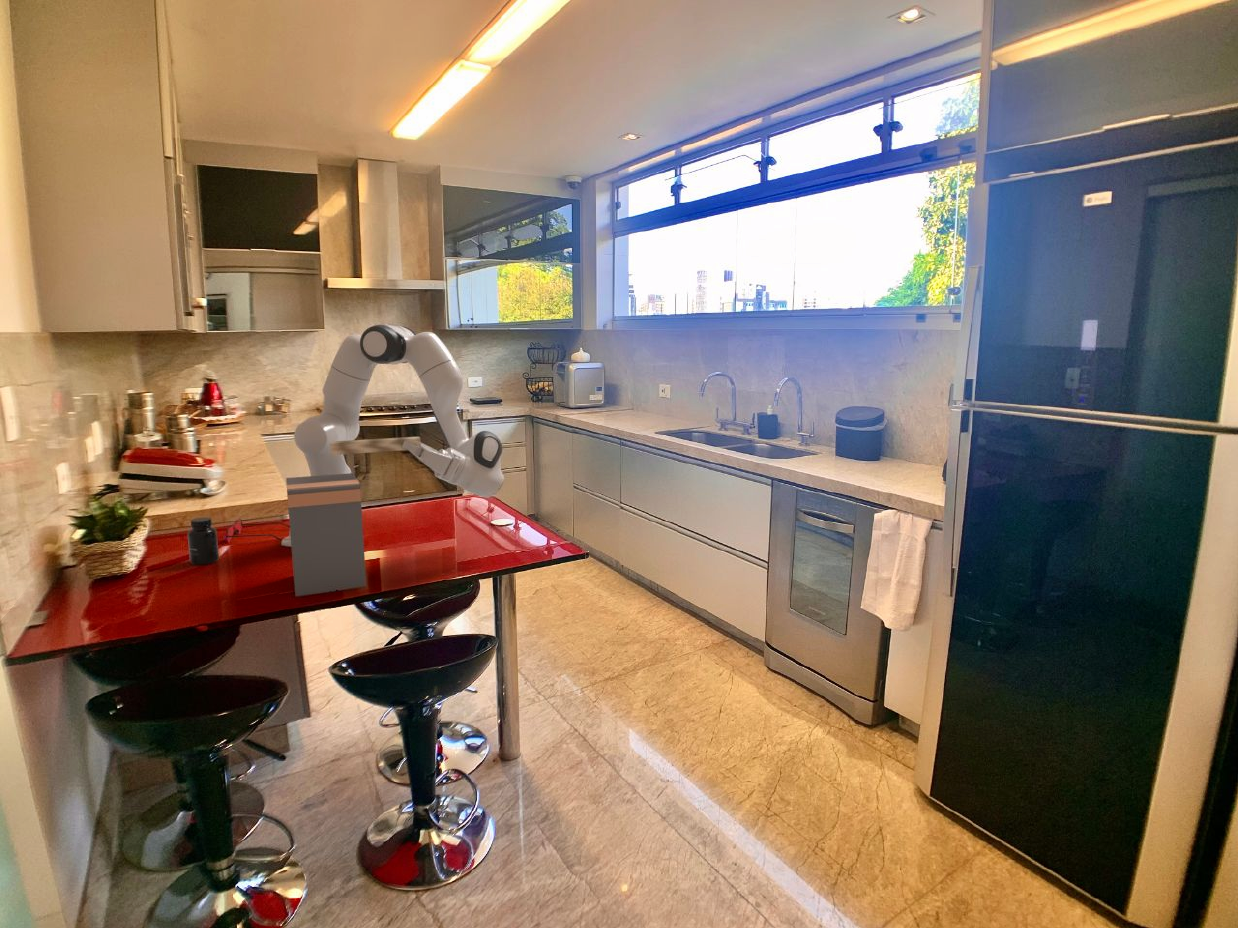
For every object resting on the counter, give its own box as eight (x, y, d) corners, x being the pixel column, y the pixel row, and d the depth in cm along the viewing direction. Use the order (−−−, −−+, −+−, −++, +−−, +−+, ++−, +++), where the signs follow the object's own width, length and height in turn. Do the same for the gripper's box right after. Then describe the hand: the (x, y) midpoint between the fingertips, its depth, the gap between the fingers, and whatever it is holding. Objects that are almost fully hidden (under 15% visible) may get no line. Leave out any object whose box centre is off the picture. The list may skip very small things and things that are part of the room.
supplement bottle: (186, 566, 182) (181, 523, 180) (195, 558, 188) (190, 516, 186) (215, 564, 184) (210, 521, 182) (222, 556, 190) (218, 515, 188)
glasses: (239, 532, 215) (237, 517, 214) (295, 529, 218) (294, 514, 217) (223, 545, 202) (222, 529, 201) (283, 542, 205) (282, 526, 204)
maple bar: (418, 447, 183) (418, 436, 182) (420, 449, 180) (420, 438, 179) (330, 453, 173) (329, 441, 172) (331, 455, 170) (330, 443, 170)
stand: (359, 567, 183) (353, 472, 178) (366, 586, 169) (360, 484, 164) (293, 575, 176) (285, 477, 171) (295, 596, 162) (286, 490, 157)
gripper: (444, 448, 195) (400, 426, 188) (462, 460, 177) (413, 436, 170) (434, 468, 194) (389, 447, 188) (450, 481, 176) (401, 459, 170)
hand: (401, 442), depth 179 cm, fingers closed on maple bar, 3 cm apart
